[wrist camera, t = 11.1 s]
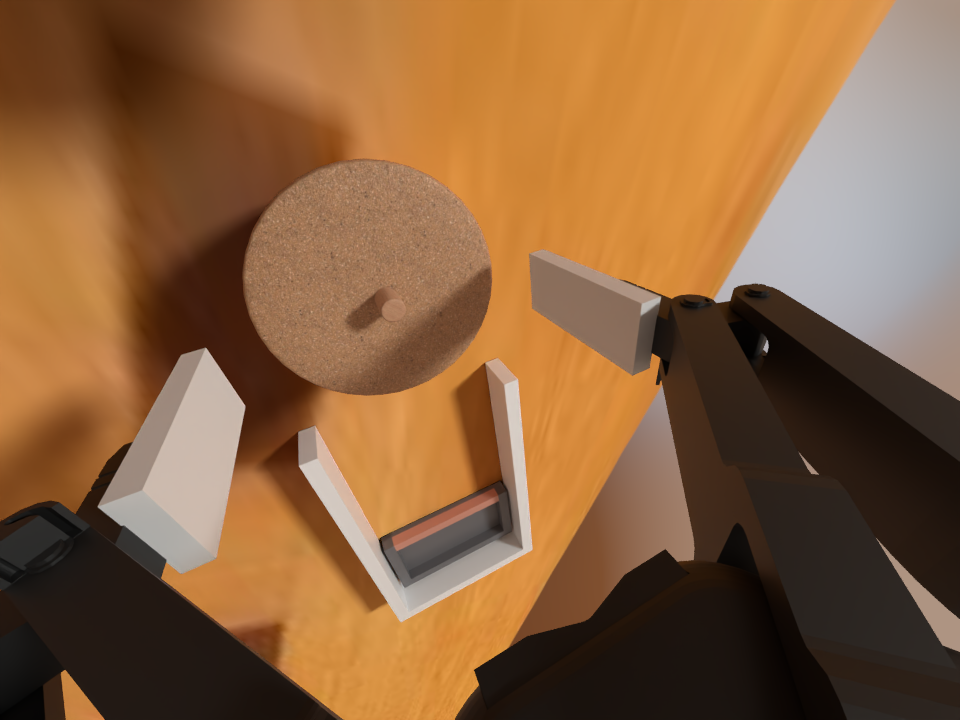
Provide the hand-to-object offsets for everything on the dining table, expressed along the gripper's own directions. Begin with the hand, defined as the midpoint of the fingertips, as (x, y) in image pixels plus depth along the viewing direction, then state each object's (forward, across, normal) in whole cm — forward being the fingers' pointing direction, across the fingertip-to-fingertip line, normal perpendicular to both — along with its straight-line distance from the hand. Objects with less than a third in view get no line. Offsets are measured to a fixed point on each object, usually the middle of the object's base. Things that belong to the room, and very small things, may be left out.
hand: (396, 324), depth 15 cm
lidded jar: (+10, 0, +1) cm, 10 cm away
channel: (+10, 0, -23) cm, 25 cm away
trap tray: (+10, 0, -30) cm, 32 cm away
